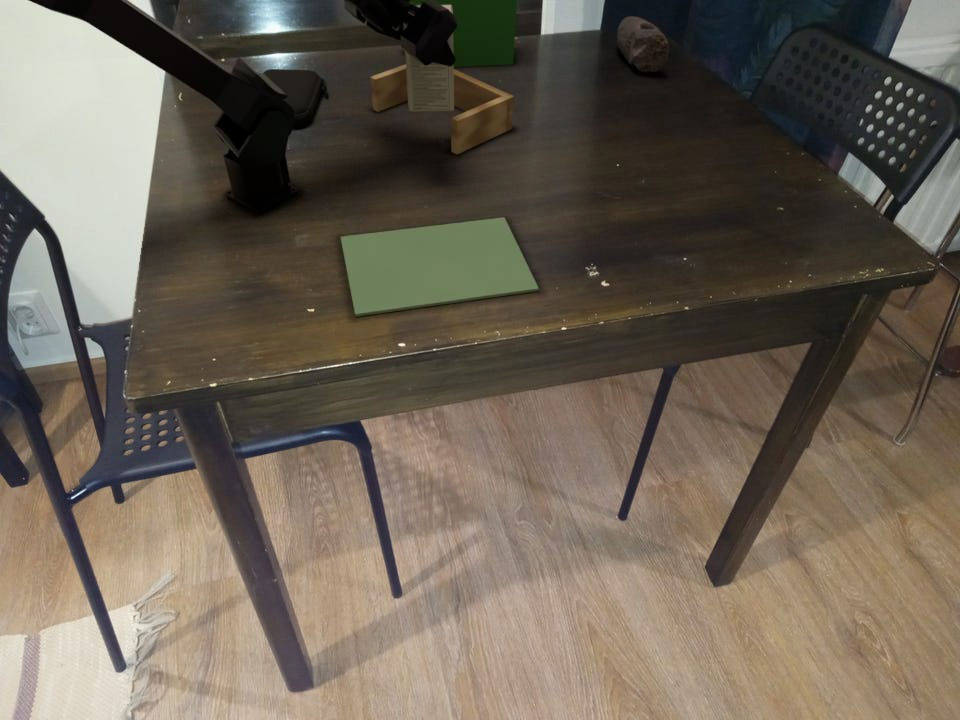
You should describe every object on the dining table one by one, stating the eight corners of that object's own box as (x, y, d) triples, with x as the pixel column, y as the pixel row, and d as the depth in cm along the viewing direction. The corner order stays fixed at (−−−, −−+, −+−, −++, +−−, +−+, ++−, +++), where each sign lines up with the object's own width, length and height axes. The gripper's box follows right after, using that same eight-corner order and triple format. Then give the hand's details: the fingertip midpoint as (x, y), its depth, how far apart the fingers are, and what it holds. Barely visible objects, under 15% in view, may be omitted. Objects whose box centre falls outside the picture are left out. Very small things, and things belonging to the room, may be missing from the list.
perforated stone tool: (605, 45, 126) (612, 4, 121) (633, 44, 126) (640, 3, 122) (636, 80, 115) (644, 37, 110) (665, 78, 116) (675, 35, 111)
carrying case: (317, 130, 100) (332, 85, 111) (314, 109, 98) (329, 66, 108) (242, 128, 100) (264, 84, 110) (238, 107, 98) (261, 64, 108)
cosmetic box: (453, 98, 96) (454, 3, 88) (454, 112, 93) (455, 15, 84) (406, 98, 96) (403, 2, 87) (406, 112, 93) (402, 14, 84)
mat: (355, 317, 72) (355, 314, 72) (340, 239, 82) (340, 236, 82) (538, 291, 76) (538, 288, 76) (504, 219, 86) (504, 217, 85)
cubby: (457, 154, 96) (457, 120, 93) (372, 109, 105) (370, 76, 102) (511, 129, 102) (514, 96, 99) (427, 88, 111) (426, 56, 107)
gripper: (443, -72, 71) (521, 23, 83) (357, -111, 81) (438, -21, 94) (380, 23, 73) (464, 101, 86) (304, -27, 84) (389, 49, 96)
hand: (439, 54), depth 90 cm, fingers closed on cosmetic box, 6 cm apart
